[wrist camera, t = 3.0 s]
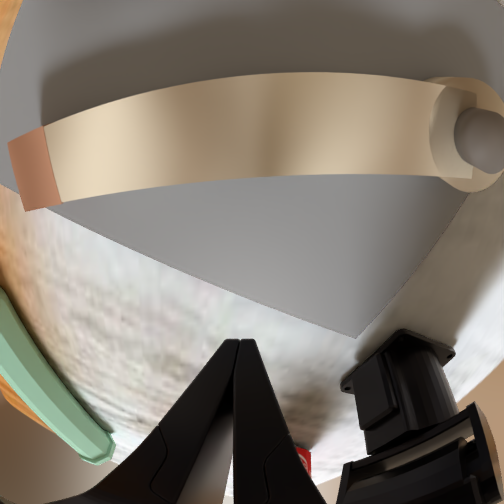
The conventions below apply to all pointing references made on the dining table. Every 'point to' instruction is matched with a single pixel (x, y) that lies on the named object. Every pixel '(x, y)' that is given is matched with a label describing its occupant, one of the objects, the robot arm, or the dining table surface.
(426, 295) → the dining table surface
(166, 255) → the base board
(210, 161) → the latch arm
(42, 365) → the green octagonal rod
